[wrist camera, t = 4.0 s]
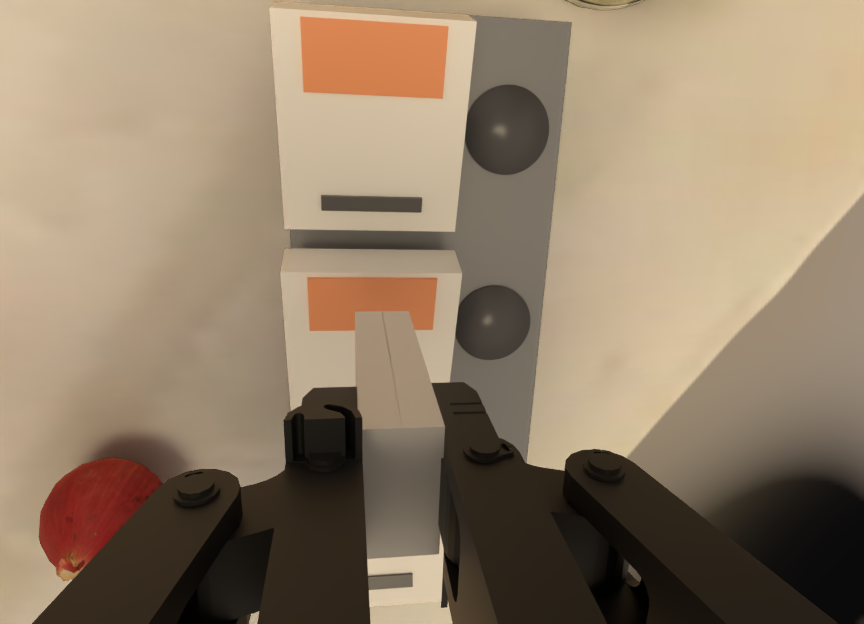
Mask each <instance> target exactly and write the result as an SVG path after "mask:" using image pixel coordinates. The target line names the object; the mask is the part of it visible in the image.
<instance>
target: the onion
mask: <svg viewBox="0 0 864 624" xmlns="http://www.w3.org/2000/svg"><path fill="white" fill-rule="evenodd" d="M161 485H162V482H161V481H160V479H159V478H158V477H157V476H156V475H155V474H154V473H152V472H151V471H150V470H149V469H148V468H146V467H145V466H142V465H140V464H138V463H135V462H133V461H131V460H126V459H117V458H107V459H102V460H98V461H93V462H89V463H86V464H82V465H81V466H79V467H77V468H76V469H74V470H73V471H71V472H70V473H68V474H66V475H65V476H64V477H63V478H62V479H61V480H60V481H58V482H57V483H56V484H55V486H54V488H53V489H52V491H51V493H50V494H49V496H48V498H47V500H46V501H45V504H44V506H43V508H42V510H41V514H40V528H39V540H40V544H41V546H42V548H43V550H44V552H45V553H46V555H47V557H48V559H49V561H50V562H51V563H52V564H53V565H54V566H55V567H56V572H57V575H58V576H59V577H61V578H62V580H63V581H67V580H70V579H74V578H75V577H76V576H77V575H78V574H79V572H80V571H81V570H82V569H83V568H84V567H85V566H86V565H87V564H88V563H89V562H90V561H91V560H92V558H93V557H94V556H95V555H96V554H97V553H98V552H99V551H100V550H101V549H102V548H103V547H104V545H105V544H106V543H107V542H108V541H109V540H110V539H111V538H112V537H113V536H114V535H115V534H116V533H117V531H118V530H119V529H120V528H121V527H122V526H123V525H124V524H125V523H126V522H127V521H128V520H129V518H130V517H131V516H132V515H133V514H134V513H135V512H136V511H137V510H138V509H139V508H140V507H141V506H142V504H143V503H144V502H145V501H146V500H147V499H148V498H149V497H150V496H151V495H152V494H153V493H154V492H155V490H156V489H157V488H159V487H160V486H161Z"/></svg>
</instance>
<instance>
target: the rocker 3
mask: <svg viewBox="0 0 864 624" xmlns="http://www.w3.org/2000/svg"><path fill="white" fill-rule="evenodd" d="M443 557H444V548H443V544H442V539H441V535H440V547H439V554H436V555H421V556H406V557H392V558H377V559H367V564H368V586H369V607H375V606H389V605H402V604H415V603H428V602H441V599H442V578H443Z"/></svg>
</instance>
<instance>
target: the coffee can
mask: <svg viewBox="0 0 864 624" xmlns="http://www.w3.org/2000/svg"><path fill="white" fill-rule="evenodd" d="M567 1H569V2H571V3H573V4H575V5H577V6H580V7H586V8H591V9H596V10H613V9H620V8H625V7H628V6H631V5H635V4H637V3H640V2H642V1H644V0H567Z"/></svg>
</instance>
